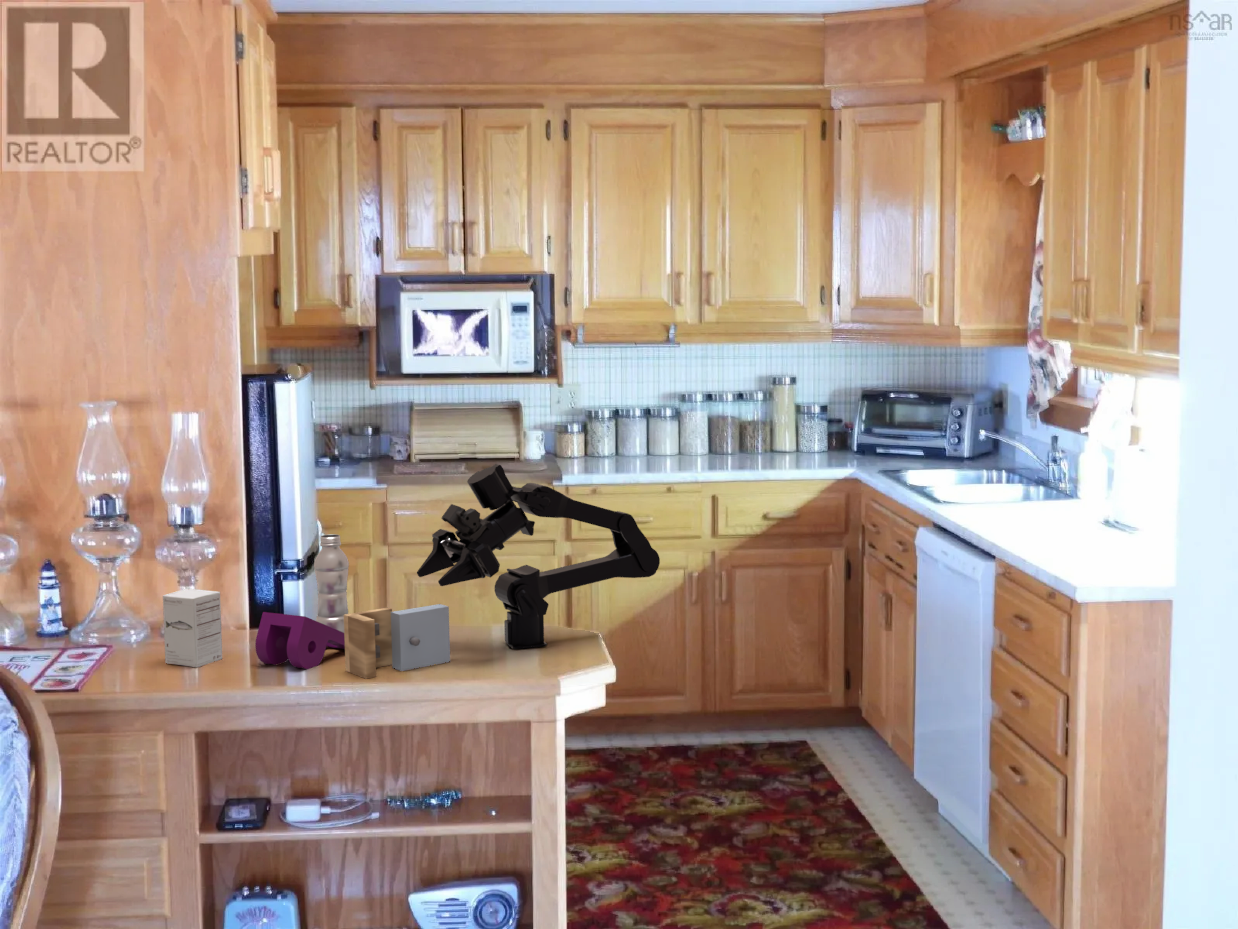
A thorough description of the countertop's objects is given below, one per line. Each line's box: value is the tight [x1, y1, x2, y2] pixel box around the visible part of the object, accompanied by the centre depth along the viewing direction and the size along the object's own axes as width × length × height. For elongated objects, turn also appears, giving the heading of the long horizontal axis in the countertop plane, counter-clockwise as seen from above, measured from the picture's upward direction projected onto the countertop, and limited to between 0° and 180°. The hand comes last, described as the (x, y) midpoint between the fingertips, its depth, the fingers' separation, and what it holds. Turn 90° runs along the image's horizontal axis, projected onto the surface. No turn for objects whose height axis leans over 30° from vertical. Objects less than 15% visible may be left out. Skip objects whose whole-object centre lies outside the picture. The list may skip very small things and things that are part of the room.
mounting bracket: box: [254, 611, 345, 670], centre depth 267 cm, size 9×8×18 cm
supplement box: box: [162, 588, 223, 668], centre depth 266 cm, size 7×7×13 cm
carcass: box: [344, 607, 393, 680], centre depth 257 cm, size 9×7×10 cm
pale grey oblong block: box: [391, 603, 451, 672], centre depth 261 cm, size 10×5×10 cm, turn 129°
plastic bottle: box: [313, 534, 350, 633], centre depth 281 cm, size 6×7×20 cm
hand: (428, 579), depth 264 cm, fingers open, 9 cm apart
